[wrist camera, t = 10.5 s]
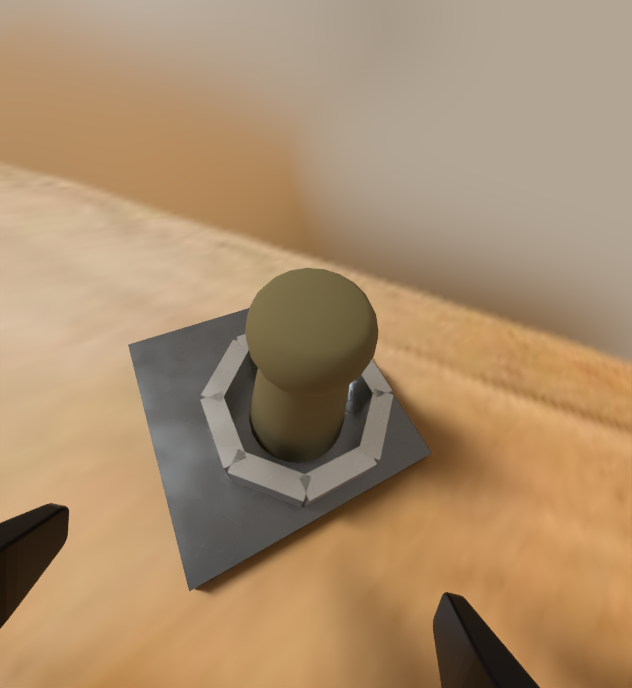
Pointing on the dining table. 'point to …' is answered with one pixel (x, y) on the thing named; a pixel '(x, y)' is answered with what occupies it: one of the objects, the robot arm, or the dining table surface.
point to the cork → (306, 359)
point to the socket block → (251, 447)
